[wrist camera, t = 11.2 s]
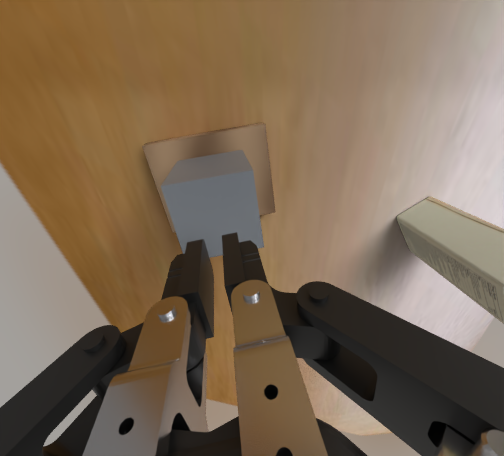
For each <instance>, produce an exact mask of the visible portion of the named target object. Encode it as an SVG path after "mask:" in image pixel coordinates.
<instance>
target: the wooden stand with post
mask: <svg viewBox="0 0 504 456" xmlns="http://www.w3.org/2000/svg"><path fill="white" fill-rule="evenodd" d="M142 147H143V150H144V153H145V156H146V158H147V161H148V164H149V167H150V170H151V173H152V175H153V178H154V181H155V184H156V187H157V190H158V192H159V195H160V198H161V201H162V204H163V207H164V209H165V212H166V215H167V218H168V221H169V224H170V226H171V229H172V232H173V233H174V232H176V231H175V228H174V225H173V222H172V219H171V216H170V213H169V210H168V207H167V204H166V201H165V198H164V195H163V192H162V189H161V185H162V183H163V182H164V180H165V179H166V177H167V176H168V174H169V173H170V171H171V170H172V168H173V167H174V165H175V164H176V162H177V161H179V160H185V159H191V158H197V157H203V156H209V155H214V154H220V153H226V152H232V151H238V150H243V152H244V154H245V156H246V158H247V160H248V161H249V163H250V165H251V167H252V169H253V173H254V180H255V187H256V194H257V201H258V208H259V215H265V214H270V213H275V204H274V195H273V187H272V178H271V169H270V160H269V152H268V143H267V134H266V126H265V124H264V123H256V124H251V125H245V126H240V127H234V128H228V129H223V130H217V131H211V132H206V133H200V134H195V135H189V136H183V137H178V138H172V139H167V140H161V141H155V142H150V143H146V144H145V145H143V146H142Z"/></svg>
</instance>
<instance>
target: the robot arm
mask: <svg viewBox="0 0 504 456" xmlns="http://www.w3.org/2000/svg"><path fill="white" fill-rule="evenodd" d="M222 248H223V265H224V282H225V289H226V293H227V296H228V300H229V304H230V307H231V311H232V315H233V324H234V334H235V346H236V347H235V348H234V366H235V378H236V390H237V402H238V414H239V416H238V417H236V418H234V419H233V420H231V421H229V422H227V423H225V424H224V425H222V426H220V427H218V428H216V429H215V430H213V431H211V432H208V425H207V420H206V384H207V353H206V351H205V349H206V339H207V338H212V337H214V276H213V269H212V265H211V262H210V258H209V255H208V251H207V248H206V244H205V241H204V239H200V240H195V241H190V242H187V245H186V250H185V253H184V254H180V255H177V256H176V257H175V259H174V260H173V261H172V262H171V265H170V269H169V273H168V278H167V280H166V284H165V288H164V292H163V295H162V299H161V301H159V302H157V303H156V304H155V305H154V306H152V307H151V309H150V310H149V311H148V313H147V315H146V318H145V321H144V322H143V323H141V324H140V325H138V326H135V327H133V328H131V329H129V330H127V331H125V332H122V333H120V331H119V329H118V328H117V327H115V326H113V325H107V326H102V327H99V328H96V329H94V330H92V331H91V332H89V333H87V334H86V335H85V336H83V337H82V338H81V339H80V340H79V341H78V342H76V343H75V344H74V345H73V346H72V347H70V348H69V349H68V350H67V351H66V352H65V353H64V354H62V355H61V356H60V357H59V358H58V359H56V360H55V361H54V362H53V363H52V364H51V365H49V366H48V367H47V368H46V369H45V370H44V371H43V372H41V373H40V374H39V375H38V376H37V377H36V378H34V379H33V380H32V381H31V382H30V383H29V384H28V385H26V386H25V387H24V388H23V389H22V390H20V391H19V392H18V393H17V394H16V395H15V396H14V397H12V398H11V399H10V400H9V401H8V402H6V403H5V404H4V405H3V406H2V407H1V408H0V456H367V455H366V454H365V453H364V452H363V451H362V450H360V449H359V448H358V447H357V446H356V445H355V444H354V443H352V442H351V441H350V440H349V439H348V438H347V437H345V436H344V435H343V434H342V433H341V432H339V431H338V430H337V429H335V428H334V427H332V426H331V425H329V424H327V423H325V422H323V421H322V420H320V419H317V418H315V415H314V412H313V408H312V405H311V402H310V399H309V396H308V393H307V390H306V387H305V384H304V381H303V378H302V375H301V372H300V369H299V366H298V363H297V359H296V358H303V359H304V361H305V362H306V363H307V364H308V365H309V366H310V367H312V368H313V369H314V370H315V371H317V372H318V373H319V374H320V375H322V376H323V377H324V378H325V379H327V380H328V381H329V382H330V383H332V384H333V385H334V386H335V387H337V388H338V389H339V390H340V391H342V392H343V393H344V394H345V395H347V396H348V397H349V398H350V399H351V400H353V401H354V402H355V403H356V404H358V405H359V406H360V407H361V408H363V409H364V410H365V411H366V412H368V413H369V414H370V415H371V416H373V417H374V418H375V419H376V420H378V421H379V422H380V423H381V424H383V425H384V426H385V427H386V428H388V429H389V430H390V431H391V432H393V433H394V434H395V435H396V436H398V437H399V438H400V439H401V440H403V441H404V442H405V443H406V444H408V445H409V446H410V447H411V448H413V449H414V450H415V451H416V452H418V453H419V454H420V455H421V456H504V368H502V367H500V366H498V365H496V364H494V363H492V362H490V361H488V360H486V359H484V358H482V357H480V356H478V355H476V354H473V353H471V352H469V351H467V350H465V349H463V348H461V347H459V346H457V345H455V344H453V343H451V342H449V341H447V340H445V339H443V338H440V337H438V336H436V335H434V334H432V333H430V332H428V331H426V330H424V329H422V328H420V327H418V326H416V325H414V324H412V323H410V322H407V321H405V320H403V319H401V318H399V317H397V316H395V315H393V314H391V313H389V312H387V311H385V310H383V309H381V308H379V307H377V306H374V305H372V304H370V303H368V302H366V301H364V300H362V299H360V298H358V297H356V296H354V295H352V294H350V293H348V292H346V291H344V290H341V289H339V288H337V287H335V286H333V285H331V284H329V283H325V282H318V281H316V282H310V283H307V284H305V285H303V286H302V287H301V288H300V289H299V290H298V292H297V293H284V292H280V291H277V290H275V289H273V288H272V287H271V286H270V285H269V284H268V282H267V279H266V276H265V273H264V269H263V266H262V262H261V259H260V256H259V252H258V249H257V245H256V244H254V243H253V242H252V241H251V240H249V241H244V242H239V239H238V234H237V232H235V233H230V234H225V235H222ZM91 390H93V391H94V392H95V393H96V395H97V396H96V397H95V398H94V399H93V400H92V401H91V403H90V404H89V405H88V406H87V407H86V408H85V409H84V410H83V411H82V413H81V414H80V415H79V416H78V417H77V418H76V419H75V420H74V421H73V422H72V424H71V425H70V426H69V427H68V428H67V429H66V430H65V431H64V432H63V433H62V434H61V436H60V437H59V438H58V439H57V440H56V441H54V442H53V443H52V444H50V445H48V446H44V447H43V445H44V442H45V440H46V439H47V437H48V436H49V435H50V433H51V432H52V431H53V430H54V429H55V428H56V427H57V426H58V425H59V424H60V422H62V421H63V419H64V418H65V417H66V416H67V415H68V414H69V413H70V412H71V411H72V410H73V409H74V408H75V407H76V406H77V405H78V403H79V402H80V401H81V400H82V399H83V398H84V397H85V396H86V395H87V394H88V393H89V392H90V391H91Z"/></svg>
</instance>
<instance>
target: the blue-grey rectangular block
mask: <svg viewBox="0 0 504 456" xmlns="http://www.w3.org/2000/svg"><path fill="white" fill-rule="evenodd" d="M161 189H162V192H163V195H164V198H165V201H166V204H167V207H168V210H169V213H170V216H171V219H172V222H173V225H174V228H175V231H176V234H177V237H178V240H179V243H180V246H181V249H182V252H183V254H184V253H185V250H186V245H187V242H190V241H195V240H200V239H204V241H205V244H206V248H207V251H208V255H209V258H210V257H215V256H220V255H223V248H222V235H225V234H230V233H235V232H237V234H238V239H239V242H244V241H249V240H251V241H252V242H253V243H254V244H256V245H257V248H262V247H264V244H263V237H262V230H261V223H260V215H259V208H258V201H257V194H256V187H255V180H254V173H253V169H252V167H251V165H250V163H249V161H248V160H247V158H246V156H245V154H244V152H243V150H238V151H232V152H226V153H220V154H214V155H209V156H203V157H197V158H191V159H185V160H179V161H177V162H176V164H175V165H174V167H173V168H172V170H171V171H170V173H169V174H168V176H167V177H166V179H165V180H164V182H163V183H162V185H161Z"/></svg>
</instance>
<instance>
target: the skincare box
mask: <svg viewBox="0 0 504 456" xmlns="http://www.w3.org/2000/svg"><path fill="white" fill-rule="evenodd" d="M397 221H398V223H399V226H400V229H401V231H402V233H403V236H404V238H405V241H406V243H407V245H408V247H409V249H410V251H411V252H412V253H413V254H415V255H416V256H417V257H418V258H420V259H421V260H422V261H424V262H425V263H426V264H427V265H429V266H430V267H431V268H433V269H434V270H435V271H436V272H438V273H439V274H440V275H442V276H443V277H444V278H445V279H447V280H448V281H449V282H451V283H452V284H453V285H455V286H456V287H457V288H458V289H460V290H461V291H462V292H463V293H465V294H466V295H467V296H469V297H470V298H471V299H472V300H474V301H475V302H476V303H478V304H479V305H480V306H482V307H483V308H484V309H485V310H487V311H488V312H489V313H490V314H492V315H493V316H494V317H495V318H497V319H498V320H499V321H501V322H502V323H503V324H504V229H502V228H500V227H498V226H495V225H493V224H491V223H489V222H486V221H484V220H482V219H480V218H478V217H476V216H473V215H471V214H469V213H466V212H464V211H462V210H460V209H457V208H455V207H453V206H451V205H448V204H446V203H444V202H442V201H440V200H437V199H435V198H433V197H428V198H426V199H425V200H423V201H421V202H420V203H418V204H416V205H415V206H413V207H411V208H410V209H408V210H406V211H405V212H403V213H401V214H400V215H398V216H397Z"/></svg>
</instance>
